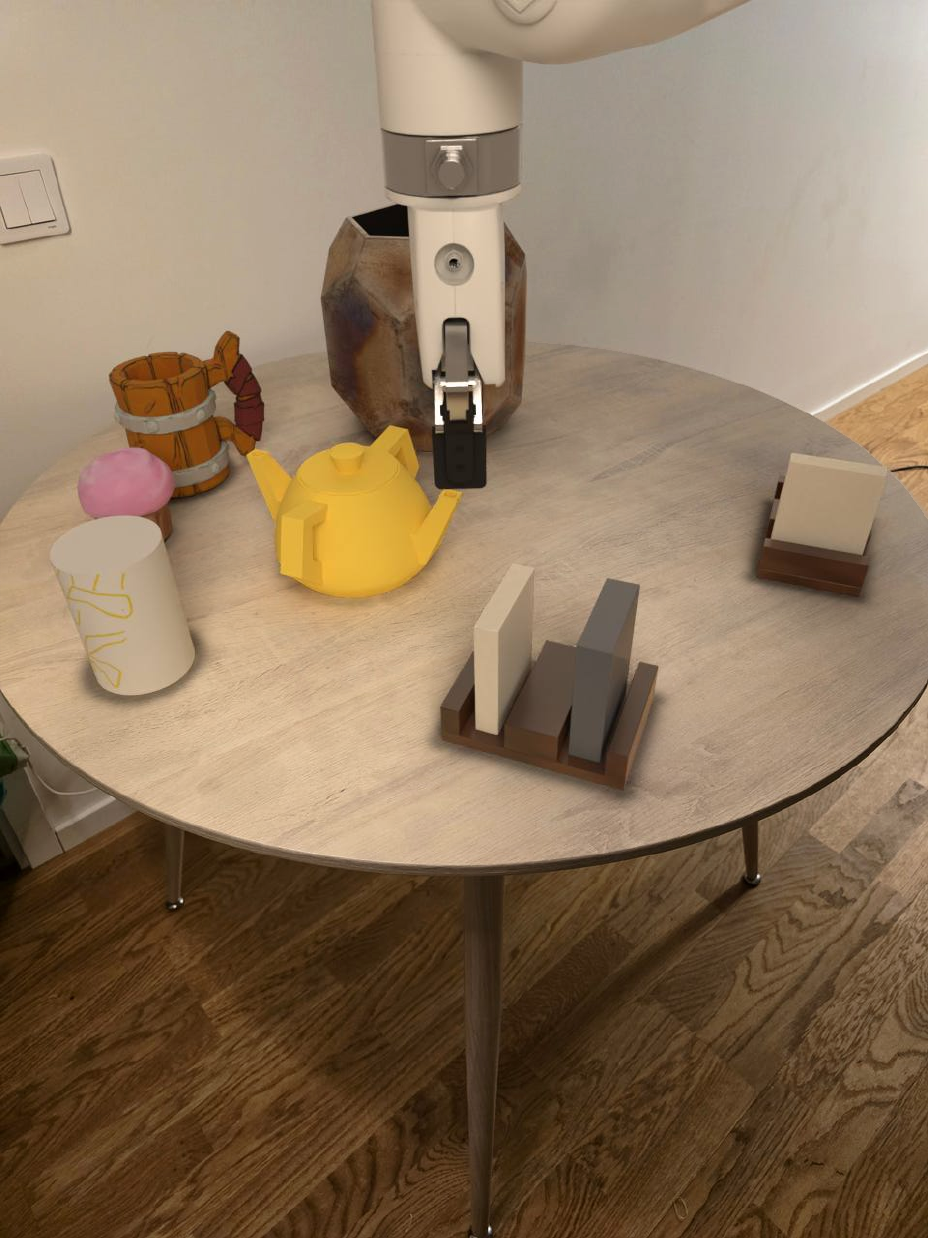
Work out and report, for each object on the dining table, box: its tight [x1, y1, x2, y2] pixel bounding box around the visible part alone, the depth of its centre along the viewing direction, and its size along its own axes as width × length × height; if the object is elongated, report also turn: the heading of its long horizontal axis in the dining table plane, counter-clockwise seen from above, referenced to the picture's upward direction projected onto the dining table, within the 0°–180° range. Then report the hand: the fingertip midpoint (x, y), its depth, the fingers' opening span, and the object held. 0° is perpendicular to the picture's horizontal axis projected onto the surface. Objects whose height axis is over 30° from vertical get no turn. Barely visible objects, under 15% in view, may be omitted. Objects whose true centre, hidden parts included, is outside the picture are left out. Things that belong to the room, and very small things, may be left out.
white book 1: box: [473, 562, 536, 735], centre depth 64 cm, size 2×8×10 cm, turn 158°
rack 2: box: [756, 474, 872, 598], centre depth 83 cm, size 9×14×4 cm, turn 158°
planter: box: [320, 203, 528, 453], centre depth 100 cm, size 22×24×24 cm
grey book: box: [568, 577, 641, 763], centre depth 62 cm, size 2×8×10 cm, turn 158°
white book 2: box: [771, 452, 889, 555], centre depth 78 cm, size 8×2×10 cm, turn 68°
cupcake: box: [77, 447, 175, 541], centre depth 84 cm, size 9×9×10 cm
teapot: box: [246, 425, 463, 599], centre depth 81 cm, size 17×17×12 cm
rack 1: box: [439, 640, 659, 791], centre depth 66 cm, size 14×10×4 cm
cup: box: [49, 515, 196, 696], centre depth 69 cm, size 8×8×12 cm
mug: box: [108, 330, 265, 499], centre depth 95 cm, size 11×16×15 cm, turn 120°
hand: (460, 449), depth 57 cm, fingers open, 9 cm apart
